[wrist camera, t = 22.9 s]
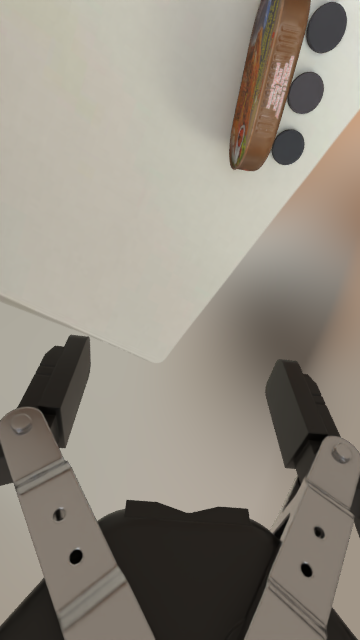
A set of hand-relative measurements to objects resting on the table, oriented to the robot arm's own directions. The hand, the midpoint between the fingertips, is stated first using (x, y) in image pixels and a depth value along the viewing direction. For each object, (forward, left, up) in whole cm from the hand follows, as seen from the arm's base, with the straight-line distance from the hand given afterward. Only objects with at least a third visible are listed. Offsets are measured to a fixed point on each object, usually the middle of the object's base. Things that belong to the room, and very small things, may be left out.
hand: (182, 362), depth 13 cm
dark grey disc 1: (-12, -6, -32) cm, 35 cm away
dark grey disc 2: (-12, -11, -32) cm, 36 cm away
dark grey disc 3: (-12, -16, -32) cm, 38 cm away
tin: (-6, -11, -32) cm, 35 cm away
